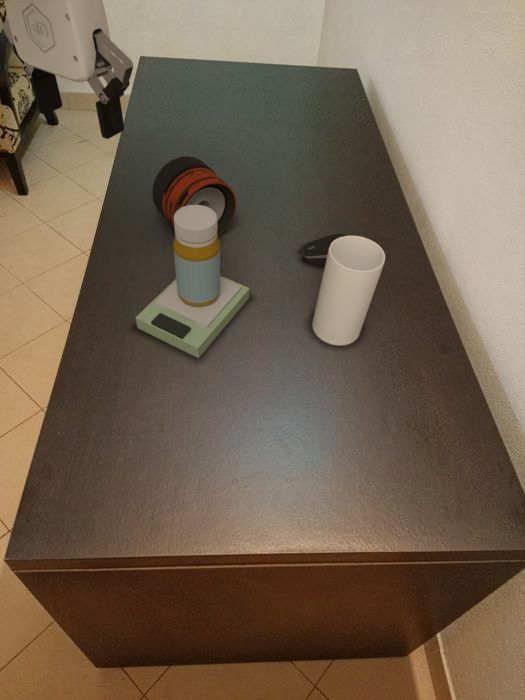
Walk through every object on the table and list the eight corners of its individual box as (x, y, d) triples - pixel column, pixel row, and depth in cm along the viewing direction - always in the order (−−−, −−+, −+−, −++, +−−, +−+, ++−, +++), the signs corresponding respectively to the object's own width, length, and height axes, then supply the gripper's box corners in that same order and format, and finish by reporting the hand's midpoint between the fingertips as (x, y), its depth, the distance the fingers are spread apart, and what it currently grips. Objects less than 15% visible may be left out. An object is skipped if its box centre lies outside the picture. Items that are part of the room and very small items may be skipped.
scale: (198, 358, 74) (197, 345, 71) (137, 328, 77) (134, 314, 74) (249, 298, 83) (250, 284, 80) (192, 273, 86) (191, 259, 84)
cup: (354, 351, 77) (380, 278, 64) (306, 337, 78) (323, 262, 66) (364, 317, 82) (389, 243, 70) (318, 304, 83) (336, 229, 71)
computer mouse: (300, 244, 94) (302, 227, 91) (360, 246, 95) (365, 230, 92) (303, 267, 89) (306, 250, 86) (366, 269, 90) (371, 253, 87)
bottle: (174, 306, 76) (166, 229, 64) (181, 277, 80) (175, 200, 69) (217, 310, 76) (217, 234, 64) (222, 281, 80) (222, 205, 69)
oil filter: (180, 253, 89) (174, 192, 80) (150, 220, 95) (141, 159, 85) (236, 232, 95) (238, 172, 85) (205, 202, 101) (203, 143, 91)
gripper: (-61, -81, 43) (4, 112, 56) (83, -44, 38) (117, 157, 51) (6, -88, 47) (51, 92, 60) (142, -56, 43) (159, 132, 56)
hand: (81, 122), depth 56 cm, fingers open, 9 cm apart
